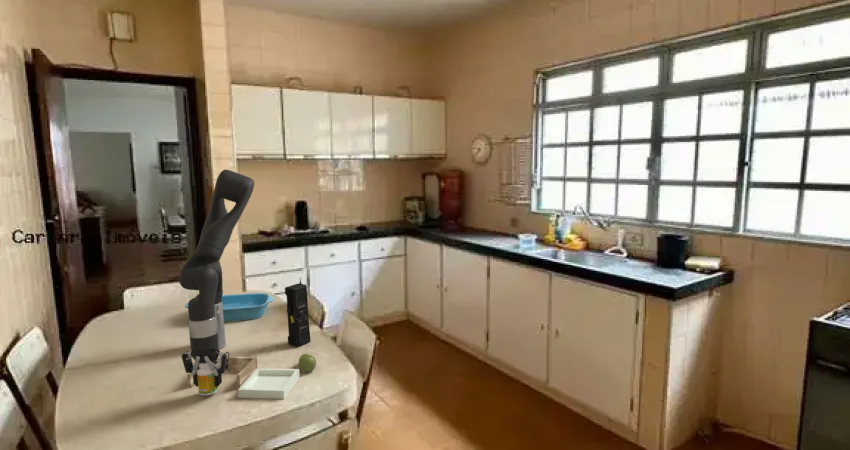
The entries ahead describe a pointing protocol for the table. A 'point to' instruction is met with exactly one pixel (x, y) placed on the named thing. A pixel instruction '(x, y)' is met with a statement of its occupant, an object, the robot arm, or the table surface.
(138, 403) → the table surface
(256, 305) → the casserole dish
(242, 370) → the frame
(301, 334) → the portable radio
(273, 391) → the plastic tray
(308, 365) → the pear
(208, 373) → the supplement bottle
